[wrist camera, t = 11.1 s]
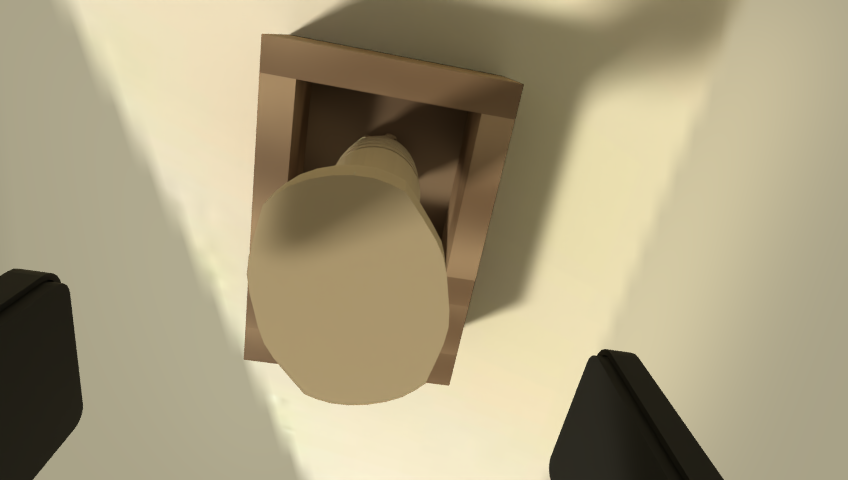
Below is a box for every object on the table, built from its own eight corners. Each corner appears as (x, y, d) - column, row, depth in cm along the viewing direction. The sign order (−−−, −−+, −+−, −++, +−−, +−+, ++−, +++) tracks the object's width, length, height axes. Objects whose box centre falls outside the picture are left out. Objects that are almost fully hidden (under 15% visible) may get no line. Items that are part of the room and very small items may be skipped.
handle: (421, 94, 25) (438, 165, 11) (431, 214, 27) (455, 396, 13) (326, 103, 25) (222, 185, 11) (344, 222, 27) (279, 412, 13)
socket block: (288, 34, 24) (261, 33, 20) (502, 76, 26) (523, 84, 21) (268, 310, 30) (243, 359, 26) (442, 334, 31) (449, 385, 27)
